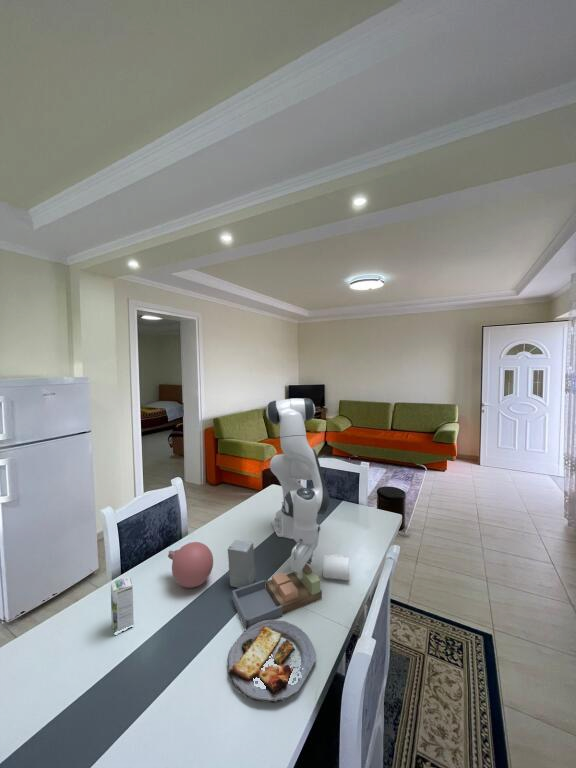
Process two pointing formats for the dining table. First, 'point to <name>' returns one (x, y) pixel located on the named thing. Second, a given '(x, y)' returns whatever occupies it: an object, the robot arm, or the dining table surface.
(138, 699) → the dining table surface
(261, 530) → the dining table surface
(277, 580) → the tile
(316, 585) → the green bar
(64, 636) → the dining table surface
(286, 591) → the tile
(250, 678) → the food plate
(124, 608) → the syrup box
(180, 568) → the balloon
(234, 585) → the skincare box
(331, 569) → the mug
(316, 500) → the robot arm
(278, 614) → the tray
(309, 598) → the brown flat block
